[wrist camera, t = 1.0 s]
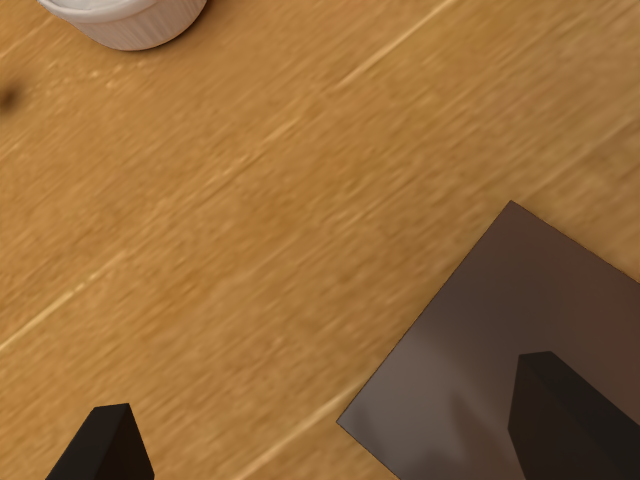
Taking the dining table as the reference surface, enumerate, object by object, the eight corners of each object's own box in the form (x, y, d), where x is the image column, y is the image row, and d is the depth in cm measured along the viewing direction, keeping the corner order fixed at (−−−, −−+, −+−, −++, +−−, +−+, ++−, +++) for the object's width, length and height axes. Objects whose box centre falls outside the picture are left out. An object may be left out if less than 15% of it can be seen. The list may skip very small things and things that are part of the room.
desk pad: (530, 592, 25) (535, 600, 24) (339, 421, 28) (335, 421, 27) (711, 340, 26) (724, 338, 25) (507, 207, 30) (510, 199, 29)
